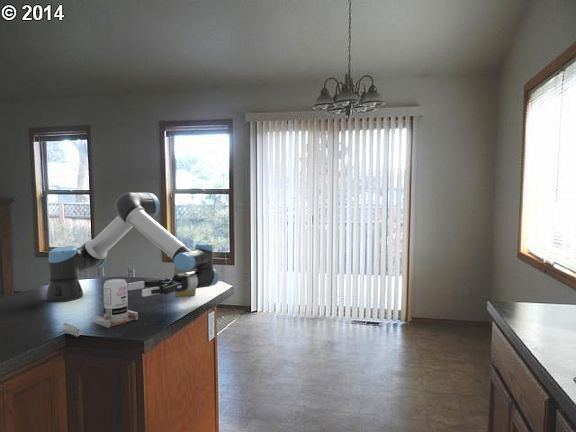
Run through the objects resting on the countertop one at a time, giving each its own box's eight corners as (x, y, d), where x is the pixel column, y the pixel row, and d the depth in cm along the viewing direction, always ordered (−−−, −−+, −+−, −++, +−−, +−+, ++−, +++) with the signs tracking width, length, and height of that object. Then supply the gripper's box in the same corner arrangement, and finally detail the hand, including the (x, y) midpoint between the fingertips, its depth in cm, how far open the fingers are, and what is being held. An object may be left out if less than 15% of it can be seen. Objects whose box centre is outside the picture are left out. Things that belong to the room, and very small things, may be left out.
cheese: (173, 286, 204) (172, 258, 204) (192, 285, 207) (192, 257, 207) (174, 297, 183) (174, 265, 182) (195, 295, 186) (195, 264, 185)
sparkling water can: (108, 316, 152) (107, 278, 151) (130, 316, 153) (129, 278, 152) (100, 323, 144) (99, 283, 143) (124, 323, 145) (123, 282, 144)
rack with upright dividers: (62, 330, 137) (62, 323, 137) (123, 314, 156) (123, 308, 156) (76, 336, 131) (76, 329, 131) (137, 319, 150) (137, 312, 150)
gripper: (199, 295, 158) (148, 306, 144) (170, 285, 176) (122, 293, 162) (199, 277, 158) (148, 285, 143) (170, 269, 176) (122, 275, 161)
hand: (134, 289), depth 152 cm, fingers open, 13 cm apart
